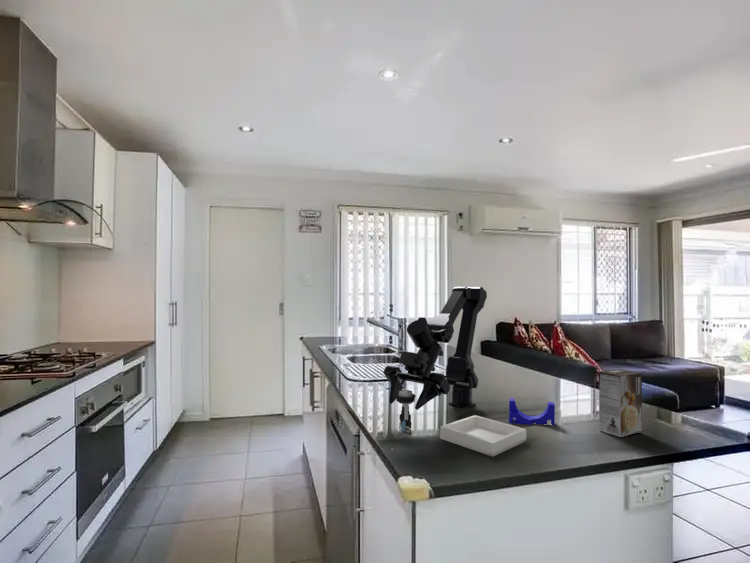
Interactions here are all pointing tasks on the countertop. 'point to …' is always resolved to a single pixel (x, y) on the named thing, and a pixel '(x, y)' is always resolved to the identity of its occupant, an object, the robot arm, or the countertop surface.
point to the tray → (483, 435)
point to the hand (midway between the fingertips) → (402, 405)
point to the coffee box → (620, 401)
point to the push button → (405, 408)
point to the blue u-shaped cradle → (522, 418)
